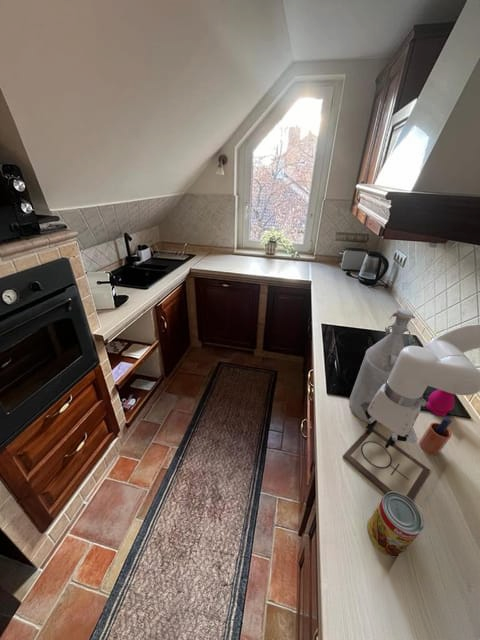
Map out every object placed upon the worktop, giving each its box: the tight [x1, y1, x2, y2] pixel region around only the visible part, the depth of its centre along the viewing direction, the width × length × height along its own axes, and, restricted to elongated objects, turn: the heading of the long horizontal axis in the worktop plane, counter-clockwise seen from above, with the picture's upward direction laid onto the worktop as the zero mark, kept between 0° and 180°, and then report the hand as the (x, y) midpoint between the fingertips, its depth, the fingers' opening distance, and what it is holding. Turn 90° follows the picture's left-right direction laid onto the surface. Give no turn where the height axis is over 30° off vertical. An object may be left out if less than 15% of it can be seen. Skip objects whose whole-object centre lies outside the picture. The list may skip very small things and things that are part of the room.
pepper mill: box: [425, 389, 456, 417], centre depth 87 cm, size 7×7×20 cm
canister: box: [348, 307, 416, 425], centre depth 82 cm, size 13×17×40 cm
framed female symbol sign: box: [342, 428, 431, 502], centre depth 74 cm, size 18×16×1 cm
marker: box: [435, 416, 452, 436], centre depth 76 cm, size 2×2×13 cm
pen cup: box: [418, 422, 452, 456], centre depth 77 cm, size 5×5×9 cm
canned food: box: [366, 491, 425, 557], centre depth 57 cm, size 8×8×12 cm
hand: (378, 437), depth 71 cm, fingers open, 4 cm apart
